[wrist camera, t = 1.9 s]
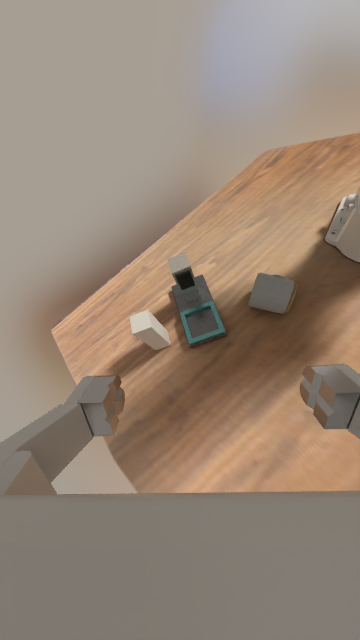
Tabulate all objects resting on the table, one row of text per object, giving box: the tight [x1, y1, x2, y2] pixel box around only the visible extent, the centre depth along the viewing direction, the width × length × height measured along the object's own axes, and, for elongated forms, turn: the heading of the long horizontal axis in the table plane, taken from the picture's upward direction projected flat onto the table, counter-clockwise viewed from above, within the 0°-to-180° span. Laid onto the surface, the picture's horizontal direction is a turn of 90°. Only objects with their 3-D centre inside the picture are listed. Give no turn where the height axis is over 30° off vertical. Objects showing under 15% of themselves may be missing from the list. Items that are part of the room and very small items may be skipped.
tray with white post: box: [168, 253, 227, 348], centre depth 42 cm, size 18×9×14 cm, turn 15°
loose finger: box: [130, 310, 171, 350], centre depth 42 cm, size 4×4×12 cm
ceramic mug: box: [248, 273, 297, 314], centre depth 41 cm, size 11×8×8 cm
